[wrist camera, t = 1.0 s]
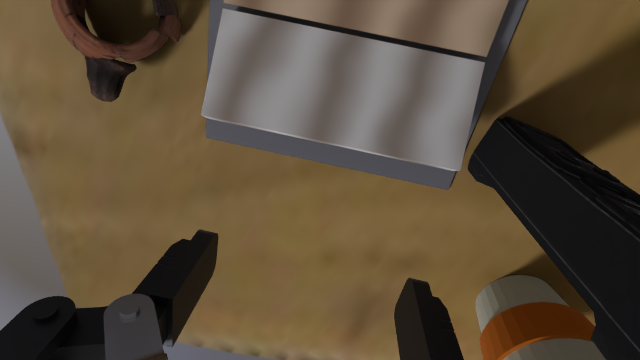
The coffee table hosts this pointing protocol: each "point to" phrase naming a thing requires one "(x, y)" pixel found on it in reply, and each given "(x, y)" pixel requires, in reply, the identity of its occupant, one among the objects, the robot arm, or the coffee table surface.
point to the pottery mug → (112, 45)
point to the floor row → (402, 19)
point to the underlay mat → (350, 156)
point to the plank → (342, 90)
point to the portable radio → (572, 223)
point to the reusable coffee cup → (531, 323)
